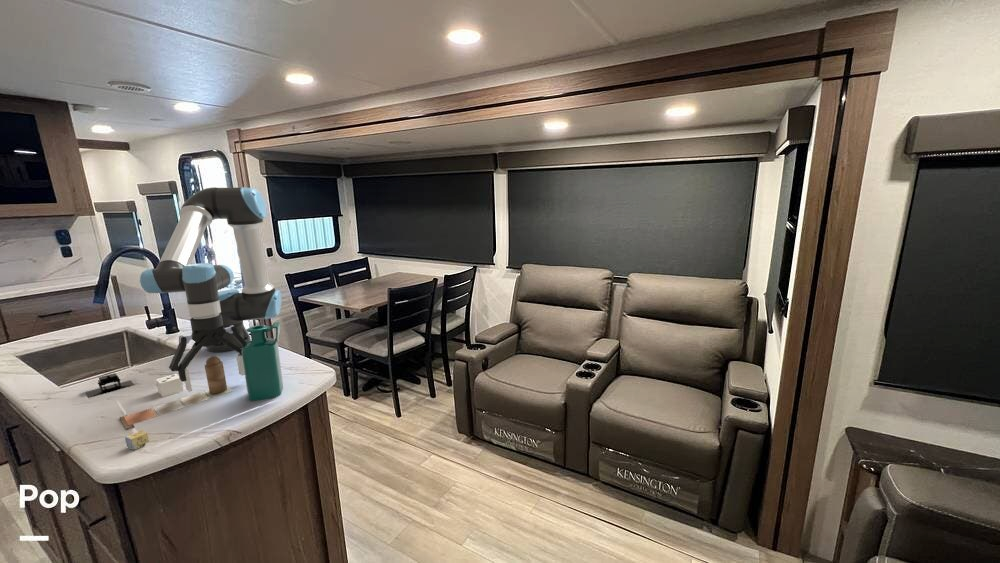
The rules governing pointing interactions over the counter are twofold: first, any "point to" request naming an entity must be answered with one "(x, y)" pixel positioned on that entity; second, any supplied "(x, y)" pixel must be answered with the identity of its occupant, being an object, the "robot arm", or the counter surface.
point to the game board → (166, 408)
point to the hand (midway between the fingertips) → (216, 381)
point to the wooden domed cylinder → (215, 375)
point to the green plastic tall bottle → (262, 364)
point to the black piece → (110, 388)
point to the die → (169, 385)
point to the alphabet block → (136, 440)
